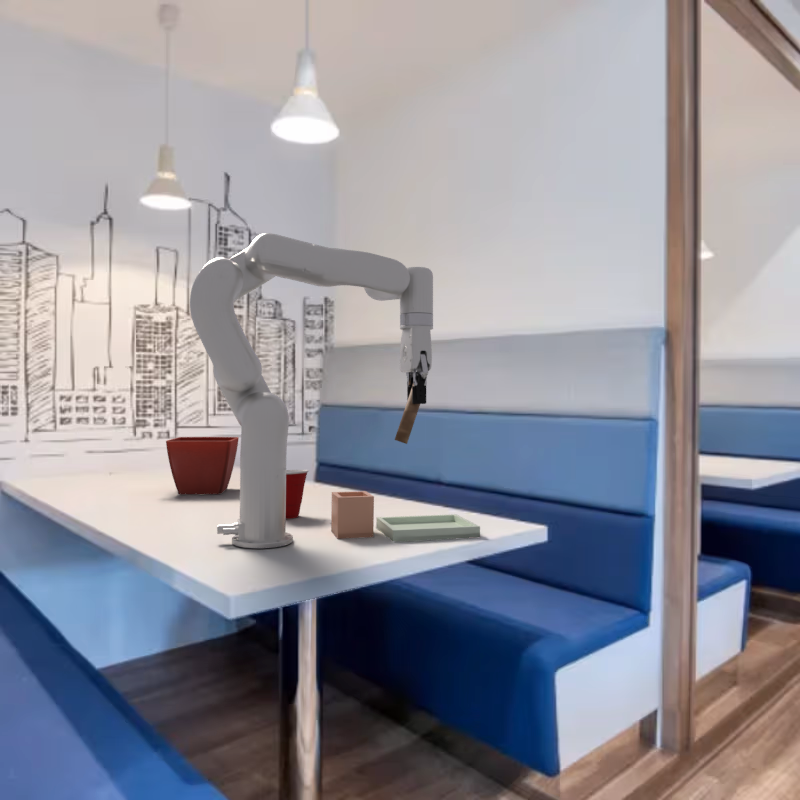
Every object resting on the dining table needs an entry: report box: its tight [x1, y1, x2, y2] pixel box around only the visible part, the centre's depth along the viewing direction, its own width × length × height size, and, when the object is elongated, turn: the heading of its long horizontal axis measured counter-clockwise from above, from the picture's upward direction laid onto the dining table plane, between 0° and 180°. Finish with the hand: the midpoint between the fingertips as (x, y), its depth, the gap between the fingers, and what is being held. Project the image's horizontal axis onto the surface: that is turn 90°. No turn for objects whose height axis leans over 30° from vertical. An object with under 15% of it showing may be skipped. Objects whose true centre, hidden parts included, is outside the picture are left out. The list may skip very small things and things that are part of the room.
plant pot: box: [165, 436, 239, 495], centre depth 207 cm, size 19×19×17 cm
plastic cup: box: [286, 469, 310, 520], centre depth 168 cm, size 11×11×12 cm
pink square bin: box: [330, 490, 375, 540], centre depth 148 cm, size 8×8×9 cm
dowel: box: [394, 383, 421, 445], centre depth 150 cm, size 8×3×14 cm, turn 106°
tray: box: [375, 513, 481, 543], centre depth 151 cm, size 20×15×2 cm
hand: (416, 402), depth 150 cm, fingers closed on dowel, 3 cm apart
